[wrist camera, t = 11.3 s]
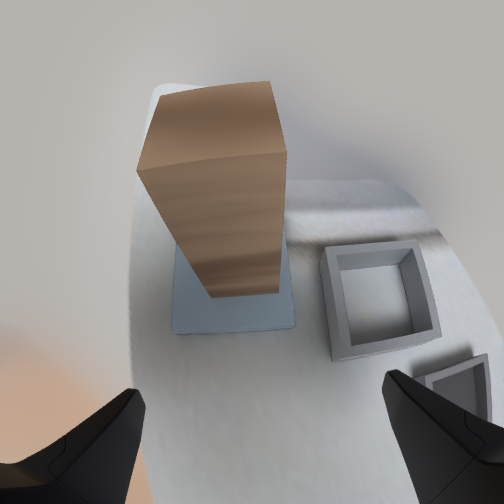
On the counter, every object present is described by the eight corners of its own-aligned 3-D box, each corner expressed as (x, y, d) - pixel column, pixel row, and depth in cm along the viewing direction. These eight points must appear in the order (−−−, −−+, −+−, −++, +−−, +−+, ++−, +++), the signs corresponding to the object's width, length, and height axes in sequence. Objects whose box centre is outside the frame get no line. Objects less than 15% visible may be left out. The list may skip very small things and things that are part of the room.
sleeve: (423, 344, 18) (442, 336, 16) (332, 362, 19) (342, 358, 16) (403, 256, 22) (417, 239, 19) (318, 264, 22) (324, 246, 20)
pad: (294, 327, 20) (295, 324, 19) (176, 334, 20) (171, 331, 20) (281, 214, 25) (281, 208, 24) (181, 223, 25) (178, 217, 24)
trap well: (478, 428, 14) (492, 428, 12) (416, 456, 14) (428, 461, 12) (473, 357, 17) (487, 353, 15) (412, 378, 17) (424, 376, 16)
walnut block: (278, 293, 20) (286, 151, 8) (211, 298, 21) (136, 170, 9) (272, 234, 23) (269, 81, 11) (211, 239, 23) (160, 95, 11)
